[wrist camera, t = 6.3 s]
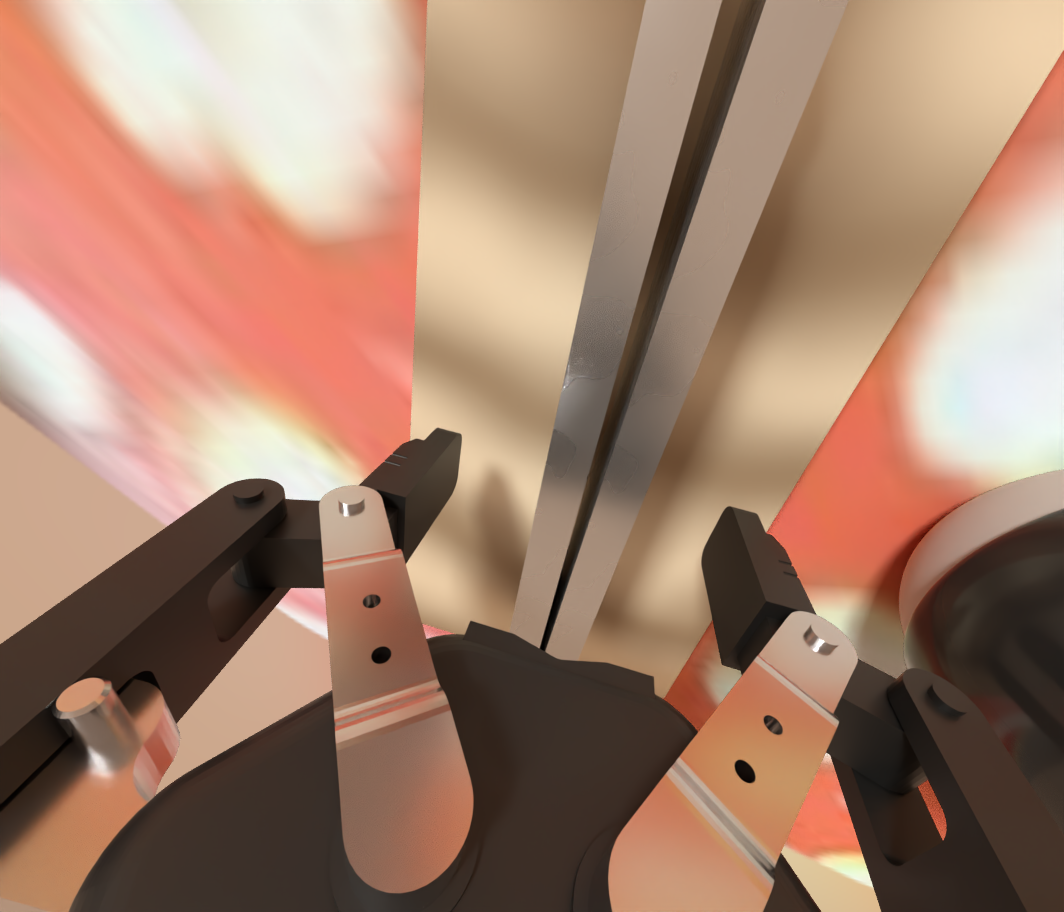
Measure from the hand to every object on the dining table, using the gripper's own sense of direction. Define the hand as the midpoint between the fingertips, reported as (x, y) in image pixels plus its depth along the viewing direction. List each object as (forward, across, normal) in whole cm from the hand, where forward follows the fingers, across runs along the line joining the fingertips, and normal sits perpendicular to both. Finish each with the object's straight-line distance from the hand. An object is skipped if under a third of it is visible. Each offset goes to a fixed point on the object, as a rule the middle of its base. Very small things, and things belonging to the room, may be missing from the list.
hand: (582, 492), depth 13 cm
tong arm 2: (+2, -1, -2) cm, 2 cm away
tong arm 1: (+2, +1, -2) cm, 2 cm away
